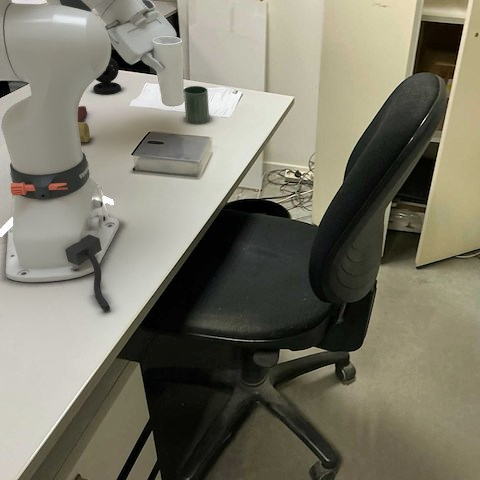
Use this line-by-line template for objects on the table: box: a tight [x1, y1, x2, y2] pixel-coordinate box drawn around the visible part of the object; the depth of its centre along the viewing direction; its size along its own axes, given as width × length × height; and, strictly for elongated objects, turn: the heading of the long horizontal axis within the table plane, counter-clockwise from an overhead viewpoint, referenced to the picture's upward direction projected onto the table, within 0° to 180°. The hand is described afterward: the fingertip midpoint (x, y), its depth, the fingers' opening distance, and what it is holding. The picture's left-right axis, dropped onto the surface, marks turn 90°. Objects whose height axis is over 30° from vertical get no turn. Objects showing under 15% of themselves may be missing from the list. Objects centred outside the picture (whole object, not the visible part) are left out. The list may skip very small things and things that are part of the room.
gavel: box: [78, 105, 91, 143], centre depth 137 cm, size 21×5×10 cm
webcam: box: [92, 56, 122, 95], centre depth 157 cm, size 8×8×10 cm
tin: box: [184, 85, 210, 125], centre depth 144 cm, size 6×6×8 cm
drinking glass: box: [152, 36, 185, 107], centre depth 130 cm, size 7×7×15 cm
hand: (170, 65), depth 129 cm, fingers closed on drinking glass, 6 cm apart
